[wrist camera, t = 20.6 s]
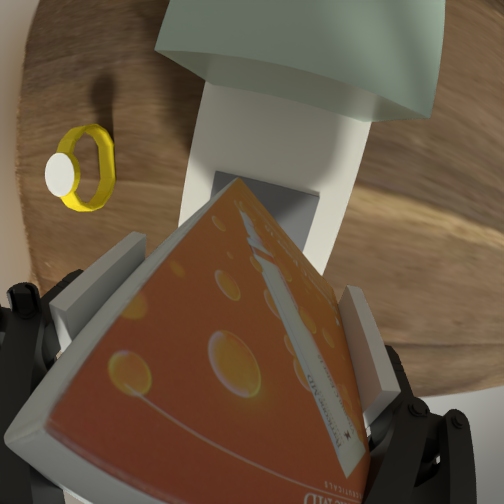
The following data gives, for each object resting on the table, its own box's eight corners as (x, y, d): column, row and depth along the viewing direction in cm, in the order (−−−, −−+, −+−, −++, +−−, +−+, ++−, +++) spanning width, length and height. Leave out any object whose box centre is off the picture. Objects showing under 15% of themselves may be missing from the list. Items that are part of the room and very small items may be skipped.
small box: (335, 288, 15) (386, 539, 3) (248, 340, 17) (212, 551, 5) (238, 170, 13) (23, 429, 1) (154, 246, 15) (-4, 444, 3)
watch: (94, 128, 18) (43, 127, 13) (123, 123, 18) (73, 119, 12) (97, 202, 20) (48, 220, 15) (124, 201, 20) (77, 220, 14)
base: (393, 3, 12) (396, 0, 11) (302, 322, 23) (302, 327, 22) (242, -35, 12) (241, -39, 11) (172, 290, 23) (169, 293, 22)
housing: (387, 3, 12) (443, -53, 4) (363, 122, 16) (429, 118, 8) (247, -32, 12) (224, -107, 3) (212, 84, 16) (154, 50, 8)
